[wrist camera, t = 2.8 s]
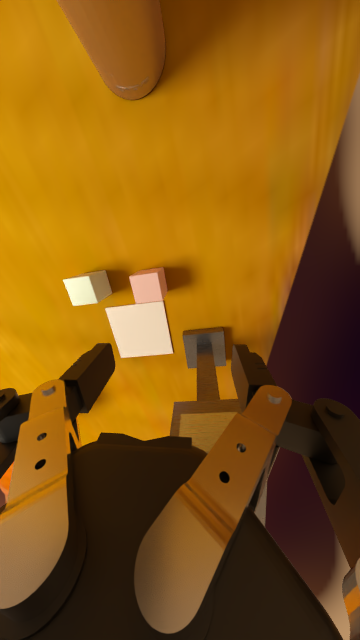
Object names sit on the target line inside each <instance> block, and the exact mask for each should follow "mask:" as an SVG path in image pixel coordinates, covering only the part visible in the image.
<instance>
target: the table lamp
mask: <svg viewBox="0 0 360 640" xmlns="http://www.w3.org/2000/svg"><path fill="white" fill-rule="evenodd" d="M183 340H184V346H185V353H186V359H187V365H188V368H197V401H186V402H174V408H173V416H172V423H171V430H170V436H176V437H192V446H195V447H197V448H199V449H201V450H203V451H205V452H206V453H209V451H210V450H211V448H212V447H213V446H214V444H215V443H216V441H217V440H218V438H219V437H220V436H221V434H222V433H223V431H224V430H225V429H226V427H227V426H228V424H229V423H230V421H231V420H232V419H233V417H234V416H235V415H236V414H237V413H240V414H242V411H241V407H240V403H239V400H238V399H227V400H220V397H219V390H218V383H217V376H216V369H215V366H226V357H225V342H224V331H223V327H218V328H208V329H198V330H188V331H183ZM266 490H267V481H266V484H265V487H264V490H263V493H262V496H261V499H260V502H259V504H258V507H257V509H256V512H255V514H256V516H257V517H258V519H259V520H260V521H261V523H262V524H263V525H264V527H265V513H266V492H267V491H266Z"/></svg>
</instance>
